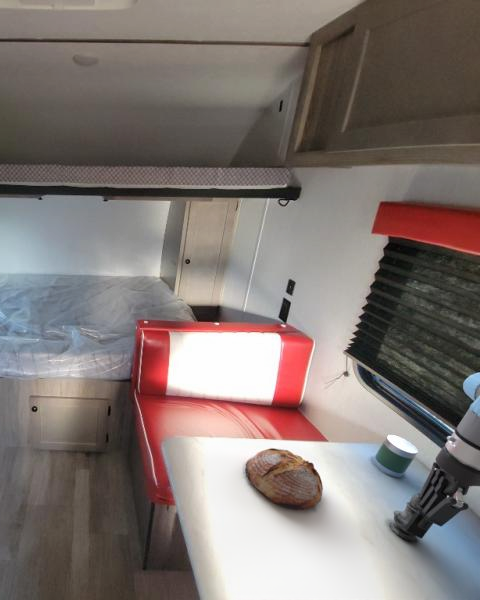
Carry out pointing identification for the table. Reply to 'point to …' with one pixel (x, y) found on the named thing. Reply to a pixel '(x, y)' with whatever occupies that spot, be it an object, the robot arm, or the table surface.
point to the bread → (285, 478)
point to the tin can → (395, 456)
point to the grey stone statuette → (406, 519)
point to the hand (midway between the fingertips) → (413, 532)
